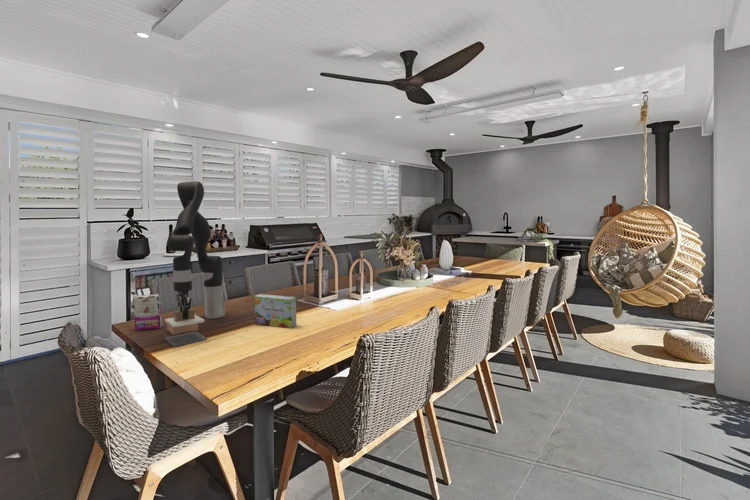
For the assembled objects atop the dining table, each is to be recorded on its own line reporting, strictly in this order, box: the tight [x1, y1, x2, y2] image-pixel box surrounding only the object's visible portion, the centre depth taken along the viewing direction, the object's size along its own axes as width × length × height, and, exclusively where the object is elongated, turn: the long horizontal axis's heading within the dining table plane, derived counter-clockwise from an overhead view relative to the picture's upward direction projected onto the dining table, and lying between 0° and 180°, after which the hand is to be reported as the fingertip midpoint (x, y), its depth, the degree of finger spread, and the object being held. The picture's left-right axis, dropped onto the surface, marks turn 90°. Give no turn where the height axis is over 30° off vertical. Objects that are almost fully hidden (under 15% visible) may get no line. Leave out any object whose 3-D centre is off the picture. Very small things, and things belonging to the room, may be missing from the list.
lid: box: [164, 308, 205, 327], centre depth 184 cm, size 13×13×5 cm
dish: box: [165, 322, 199, 336], centre depth 198 cm, size 11×11×5 cm
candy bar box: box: [132, 293, 163, 331], centre depth 202 cm, size 11×5×16 cm, turn 105°
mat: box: [164, 331, 208, 348], centre depth 185 cm, size 14×14×1 cm
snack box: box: [253, 293, 297, 330], centre depth 207 cm, size 21×6×15 cm, turn 71°
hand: (184, 317), depth 184 cm, fingers closed on lid, 3 cm apart
